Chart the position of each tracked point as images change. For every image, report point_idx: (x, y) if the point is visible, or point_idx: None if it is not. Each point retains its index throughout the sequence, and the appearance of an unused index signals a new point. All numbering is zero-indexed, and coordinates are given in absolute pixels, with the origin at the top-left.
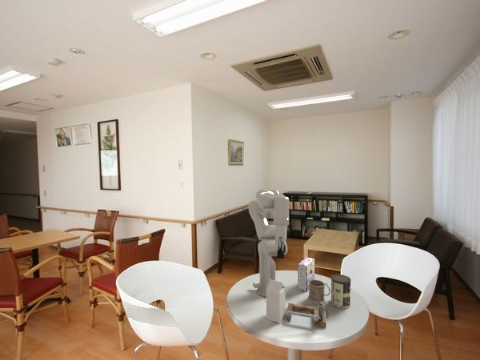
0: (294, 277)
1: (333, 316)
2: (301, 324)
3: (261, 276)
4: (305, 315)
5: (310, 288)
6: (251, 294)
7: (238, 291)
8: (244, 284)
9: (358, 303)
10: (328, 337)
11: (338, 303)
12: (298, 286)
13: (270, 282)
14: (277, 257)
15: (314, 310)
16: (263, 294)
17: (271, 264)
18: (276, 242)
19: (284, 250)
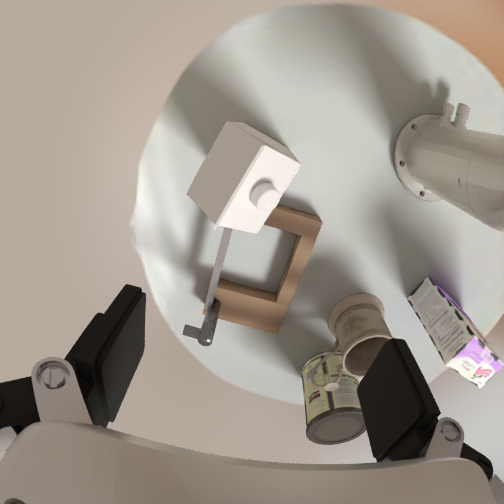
0: (492, 279)
1: (261, 338)
2: (215, 241)
3: (458, 134)
4: (214, 266)
5: (363, 327)
6: (416, 88)
7: (434, 45)
8: (480, 82)
9: None
10: (165, 297)
11: (308, 368)
12: (431, 283)
13: (253, 150)
14: (125, 288)
15: (267, 300)
16: (405, 134)
17: (485, 204)
18: (4, 469)
19: (363, 397)
